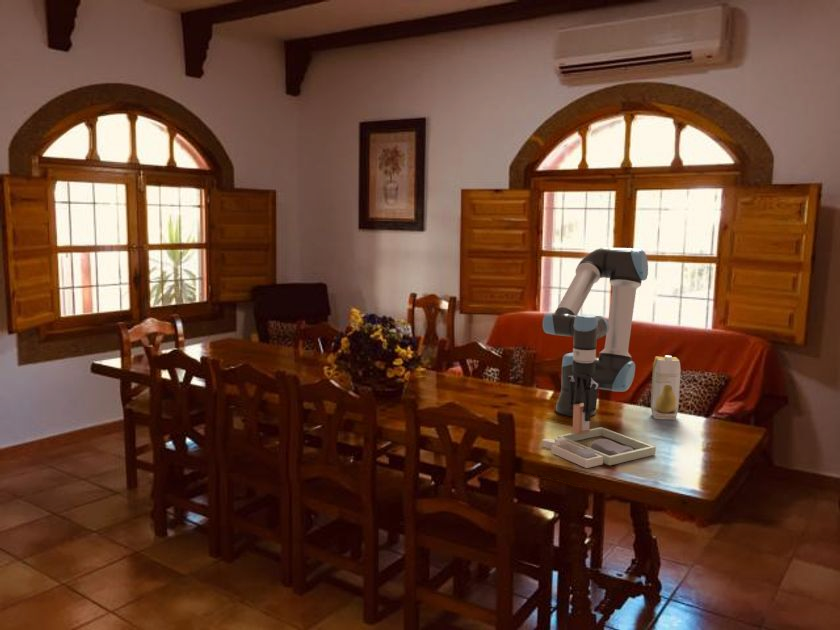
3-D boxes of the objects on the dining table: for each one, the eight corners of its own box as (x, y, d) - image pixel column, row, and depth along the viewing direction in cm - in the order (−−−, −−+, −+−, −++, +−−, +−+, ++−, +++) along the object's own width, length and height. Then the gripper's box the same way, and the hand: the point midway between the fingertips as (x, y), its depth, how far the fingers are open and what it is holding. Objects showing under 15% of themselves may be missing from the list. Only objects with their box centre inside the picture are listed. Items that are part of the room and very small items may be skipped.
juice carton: (652, 419, 269) (656, 356, 266) (649, 413, 277) (652, 352, 273) (678, 420, 268) (682, 357, 264) (674, 414, 276) (678, 353, 272)
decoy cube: (576, 462, 224) (576, 450, 223) (585, 460, 226) (586, 448, 226) (585, 466, 221) (585, 454, 220) (594, 464, 223) (595, 451, 222)
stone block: (607, 452, 239) (587, 451, 233) (610, 438, 239) (590, 437, 233) (636, 463, 230) (616, 464, 224) (639, 449, 229) (619, 449, 223)
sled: (549, 451, 232) (550, 439, 232) (565, 448, 236) (566, 436, 235) (586, 468, 218) (586, 455, 218) (602, 464, 222) (603, 451, 221)
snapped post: (542, 447, 239) (542, 440, 238) (545, 445, 241) (546, 438, 240) (554, 450, 236) (555, 443, 235) (558, 448, 237) (558, 441, 237)
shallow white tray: (555, 442, 242) (556, 407, 240) (599, 433, 252) (600, 399, 250) (609, 465, 221) (611, 427, 219) (655, 454, 231) (657, 418, 229)
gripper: (559, 357, 246) (556, 423, 250) (593, 366, 233) (589, 436, 236) (575, 355, 250) (573, 420, 254) (609, 364, 237) (606, 433, 240)
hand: (581, 428), depth 245 cm, fingers closed on shallow white tray, 3 cm apart
